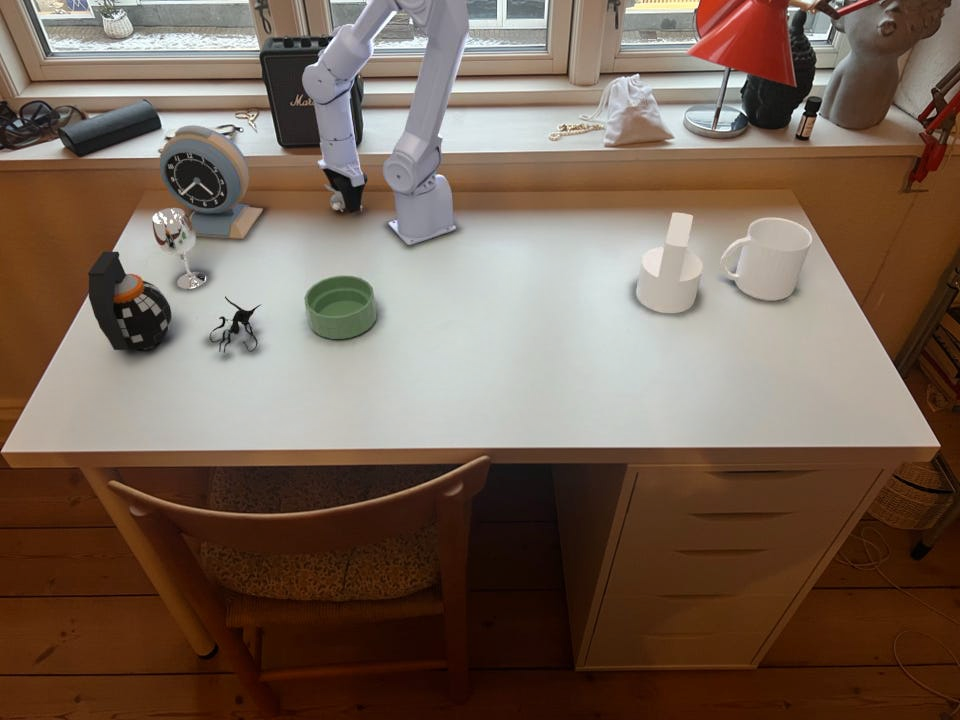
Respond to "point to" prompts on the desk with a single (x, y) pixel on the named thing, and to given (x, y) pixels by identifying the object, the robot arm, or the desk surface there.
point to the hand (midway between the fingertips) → (348, 204)
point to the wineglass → (177, 241)
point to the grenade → (127, 306)
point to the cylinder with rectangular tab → (670, 271)
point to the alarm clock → (209, 181)
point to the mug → (769, 258)
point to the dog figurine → (337, 199)
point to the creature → (238, 317)
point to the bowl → (340, 307)
